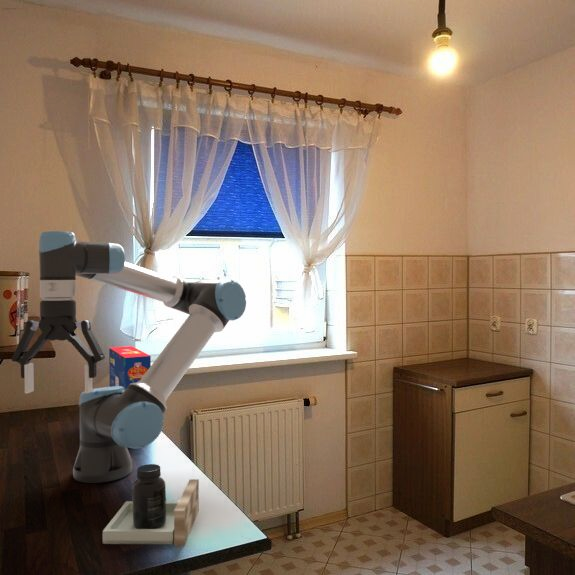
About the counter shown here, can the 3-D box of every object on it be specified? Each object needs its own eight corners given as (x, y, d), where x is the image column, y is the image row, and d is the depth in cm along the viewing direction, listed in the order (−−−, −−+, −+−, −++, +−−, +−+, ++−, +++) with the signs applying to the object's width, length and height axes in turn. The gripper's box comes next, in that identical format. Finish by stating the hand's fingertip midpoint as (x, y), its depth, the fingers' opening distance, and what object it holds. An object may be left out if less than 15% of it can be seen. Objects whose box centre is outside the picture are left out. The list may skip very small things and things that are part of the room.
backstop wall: (190, 510, 119) (189, 479, 119) (198, 510, 119) (198, 479, 119) (174, 545, 103) (174, 510, 103) (184, 545, 103) (184, 510, 103)
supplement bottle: (169, 516, 114) (168, 461, 114) (162, 531, 107) (162, 473, 107) (137, 517, 114) (136, 462, 114) (128, 532, 107) (128, 473, 107)
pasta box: (151, 442, 169) (150, 355, 169) (125, 445, 165) (125, 357, 165) (132, 421, 194) (131, 346, 193) (110, 424, 190) (109, 347, 189)
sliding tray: (126, 512, 118) (126, 501, 118) (188, 512, 117) (187, 501, 117) (102, 543, 104) (102, 531, 104) (172, 544, 103) (172, 531, 103)
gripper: (-6, 300, 115) (-5, 396, 116) (106, 299, 115) (107, 395, 116) (12, 298, 123) (13, 388, 123) (118, 298, 123) (118, 388, 123)
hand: (59, 392), depth 119 cm, fingers open, 13 cm apart
